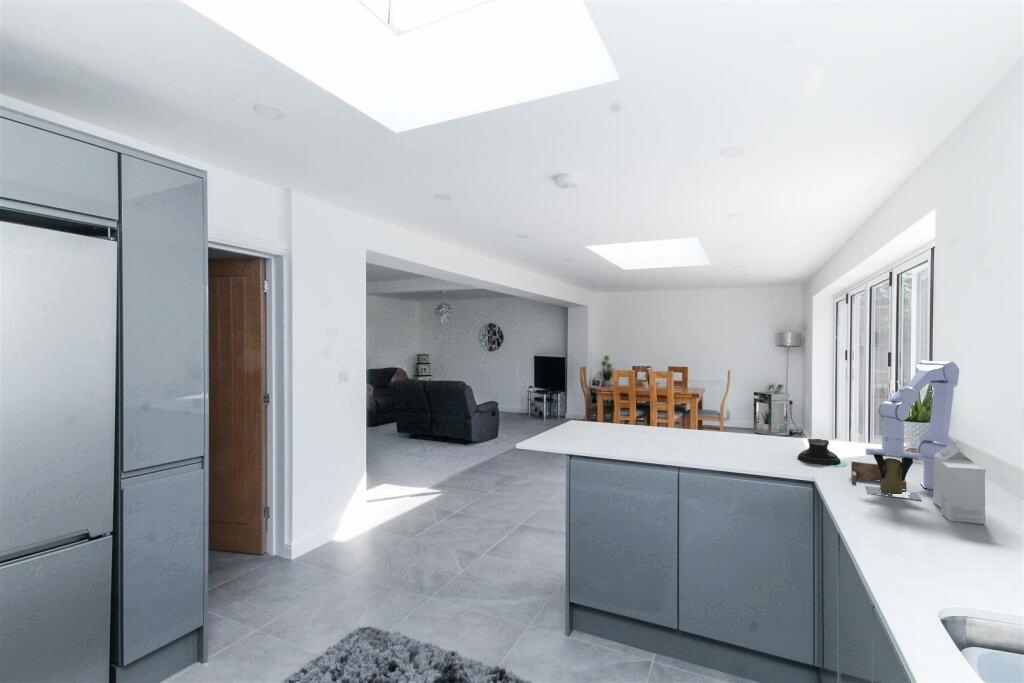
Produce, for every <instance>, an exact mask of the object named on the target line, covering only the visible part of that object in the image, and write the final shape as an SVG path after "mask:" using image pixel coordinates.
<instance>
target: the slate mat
mask: <svg viewBox="0 0 1024 683" xmlns="http://www.w3.org/2000/svg"><path fill="white" fill-rule="evenodd" d="M866 489H867V490H866ZM865 490H866V493H867V492H868V493H873V494H872V495H874V494H881V495H888V496H893V495H892V494H889V493H886V492H883V491H880V487H875V486H868V485H865ZM909 492H910V495H908V496H909V498H910V499H916V500H915V501H917V500H922V501H923V499H922V498H921V496H920V495H919V494H918V492H914V491H909ZM868 493H867V494H868ZM881 495H880V496H881ZM888 496H887V497H888Z"/></svg>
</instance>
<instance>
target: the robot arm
mask: <svg viewBox="0 0 1024 683" xmlns="http://www.w3.org/2000/svg"><path fill="white" fill-rule="evenodd" d="M959 376H960V369H959V367H958V365H957V364H956V362H955V361H933V360H921V361H919V362H918V363H917V365H916V366H915V374H914V376H913V377H912V378H911V380H910V381H909V382H908V384H907V386H902V387H900V388H899V389H898V390H897V391H896V392H895V393H894V394H893V396H891V397H890V399H889V400H888V401H887V400H886V401H884V402H882V403H880V405H879V408H878V409H877V414H878V416H879V418H880V423H881V424H882V432H881V433H882V434H881V435H882V436H881V439H882V440H881V445H882V446H881V448H870V447H868V448H867V447H866V448H865V456H873V458H874V460H875V461H876V464H878V467H879V470H880V475H881V478H884V470H883V466H884V459H885V458H895V459H901V462H902V473H901V480H902V481H905V480H906V477H907V474H908V472H909V470H910V468H911V466H912V465H913V464H914V460H915V461H920V462H921V461H923V475H922V476H923V479H922V480H923V481H920V482H919V483H920V485H921V486H922V488H923V487H924V488H923V489H925V488H927V489H926V490H933V479H934V455H935V454H937V453H938V452H940V451H941V450H942V449H944V448H946V447H947V443H948V444H951V445H953V446H956V447H958V442H956V441H955V439H953V438H952V437H951V436H949V433H950V425H951V417H952V416H951V415H952V407H953V400H954V392H955V387H957V386H958V384H959ZM927 385H930V386H931V387H932V388H933V394H932V395H933V397H932V405H931V412H930V420H929V421H930V422H929V427H928V428H929V429H928V433H926V434H924V435H922V436H920V439H919V442H918V444H917V446H916V452H917V453H916V452H909V451H904V450H905V420H908V417H909V415H910V412H911V409H912V408H911V407H912V406H913V405H914V404H915V403H916V402H917V400H918V399H919V398H920V397H919V392H921V391H922V389H924V388H925V387H926V386H927ZM937 442H938V443H937ZM884 457H885V458H884Z"/></svg>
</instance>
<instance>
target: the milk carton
mask: <svg viewBox="0 0 1024 683" xmlns="http://www.w3.org/2000/svg"><path fill="white" fill-rule="evenodd" d="M941 462H947V463H962V464H975V462H974V461H973V460H972V459H970V458H969V457H968V456H966V455H965V454H964V453H962V452H961V448H960V447H959V446H957V447H956V446H953V445H951V444H948V443H947V447H946V448H944V449H942V450H941V451H940V452H938V453H937V454H935V455H934V479H933V489H932V490H933V493H932V494H933V495H932V496H933V497H932V498H933V499H932V500H933V501H932V502H933V504H935V505H936V506H938V507H939V508H941Z"/></svg>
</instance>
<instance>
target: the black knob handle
mask: <svg viewBox="0 0 1024 683" xmlns="http://www.w3.org/2000/svg"><path fill="white" fill-rule="evenodd" d="M807 442H808V448H807V449H805V450H802V451H801V452H800V453H798V454H797V460H798V461H800V462H803V463H807V464H811V465H814V466H819V467H821V466H826V467H831V468H832V467H834V468H836V467H837V468H839V467H845V466H846V467H847V466H848V462H846V461H844V460H843V461H841V459H840V457H839V456H837V454H836V453H834V452H833V451H831V450H829V448H828V446H829V444H830V442H829V439H822V438H807Z"/></svg>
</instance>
